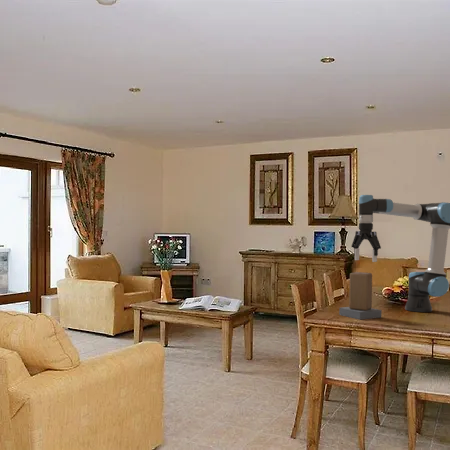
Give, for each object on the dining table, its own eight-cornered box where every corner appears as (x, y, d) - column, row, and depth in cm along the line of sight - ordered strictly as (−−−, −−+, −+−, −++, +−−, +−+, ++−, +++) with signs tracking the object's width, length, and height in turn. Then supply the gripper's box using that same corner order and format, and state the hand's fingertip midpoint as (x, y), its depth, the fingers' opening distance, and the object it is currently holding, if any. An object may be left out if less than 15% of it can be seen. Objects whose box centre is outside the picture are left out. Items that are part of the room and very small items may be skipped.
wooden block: (372, 308, 291) (372, 272, 291) (366, 311, 283) (367, 274, 283) (354, 306, 297) (355, 271, 297) (348, 309, 289) (349, 272, 289)
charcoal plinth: (360, 312, 301) (360, 305, 301) (381, 317, 287) (381, 310, 287) (339, 314, 293) (339, 307, 293) (359, 319, 279) (359, 312, 279)
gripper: (345, 222, 299) (345, 259, 299) (377, 222, 277) (377, 262, 277) (355, 222, 303) (354, 259, 303) (387, 222, 281) (387, 262, 281)
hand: (365, 261), depth 290 cm, fingers open, 13 cm apart
